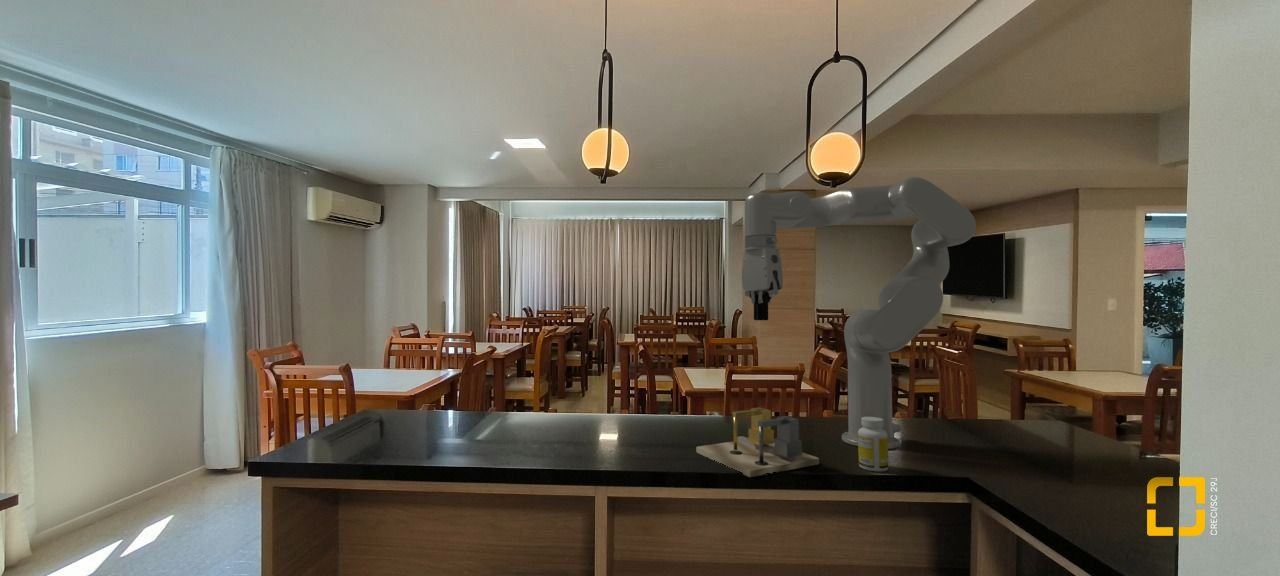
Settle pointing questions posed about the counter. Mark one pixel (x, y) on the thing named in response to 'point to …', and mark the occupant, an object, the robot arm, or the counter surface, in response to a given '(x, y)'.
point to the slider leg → (755, 425)
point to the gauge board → (754, 457)
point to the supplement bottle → (873, 445)
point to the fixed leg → (782, 437)
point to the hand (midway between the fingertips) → (760, 320)
